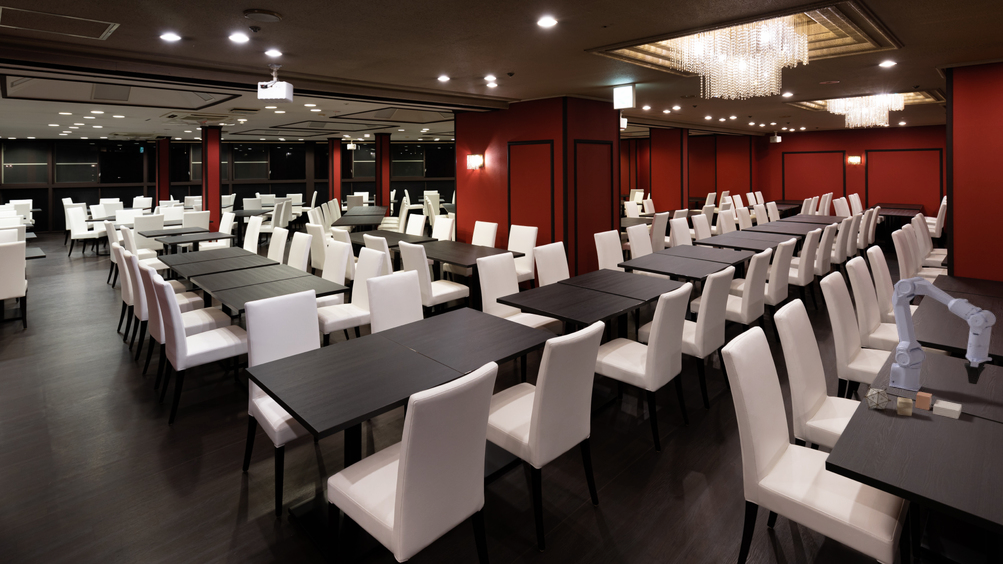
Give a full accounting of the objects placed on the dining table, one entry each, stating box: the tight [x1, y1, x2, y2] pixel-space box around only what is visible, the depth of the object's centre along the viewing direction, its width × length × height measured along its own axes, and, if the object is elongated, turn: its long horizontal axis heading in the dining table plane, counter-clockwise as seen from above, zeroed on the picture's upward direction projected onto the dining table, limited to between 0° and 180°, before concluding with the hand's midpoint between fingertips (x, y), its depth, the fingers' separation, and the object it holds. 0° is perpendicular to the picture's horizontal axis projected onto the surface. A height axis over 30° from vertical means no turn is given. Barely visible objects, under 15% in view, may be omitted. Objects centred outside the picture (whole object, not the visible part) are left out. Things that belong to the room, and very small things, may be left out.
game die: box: [863, 385, 893, 412], centre depth 203 cm, size 9×8×10 cm
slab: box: [932, 399, 963, 420], centre depth 198 cm, size 7×7×3 cm
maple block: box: [896, 396, 914, 417], centre depth 199 cm, size 4×4×5 cm
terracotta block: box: [914, 391, 933, 411], centre depth 203 cm, size 4×4×5 cm
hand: (973, 380), depth 201 cm, fingers open, 7 cm apart
